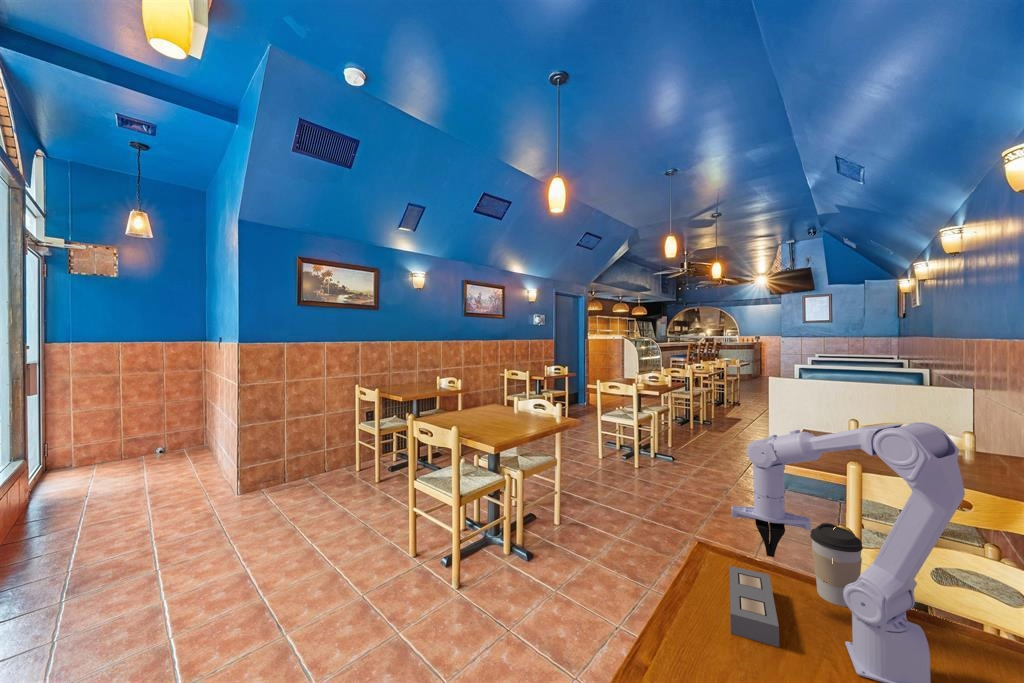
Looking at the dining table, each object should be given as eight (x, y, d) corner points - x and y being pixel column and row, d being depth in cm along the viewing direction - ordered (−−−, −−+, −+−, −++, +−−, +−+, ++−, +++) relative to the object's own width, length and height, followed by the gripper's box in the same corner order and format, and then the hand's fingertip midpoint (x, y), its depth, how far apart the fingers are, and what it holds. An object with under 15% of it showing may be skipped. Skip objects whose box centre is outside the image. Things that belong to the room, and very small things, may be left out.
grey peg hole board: (769, 591, 90) (769, 574, 90) (779, 647, 74) (778, 626, 74) (729, 582, 94) (729, 565, 94) (730, 633, 78) (730, 613, 78)
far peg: (760, 594, 89) (759, 578, 89) (761, 605, 85) (761, 588, 85) (739, 589, 91) (739, 574, 91) (740, 599, 87) (740, 583, 87)
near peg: (763, 620, 81) (763, 602, 81) (765, 633, 77) (765, 615, 77) (741, 614, 83) (740, 597, 83) (742, 626, 79) (741, 609, 79)
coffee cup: (874, 612, 82) (873, 542, 82) (825, 608, 84) (824, 538, 84) (847, 586, 91) (845, 521, 91) (803, 582, 93) (801, 519, 93)
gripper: (806, 492, 87) (807, 553, 87) (730, 482, 94) (732, 538, 94) (812, 504, 81) (813, 570, 81) (731, 493, 87) (732, 553, 88)
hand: (770, 554), depth 87 cm, fingers closed
